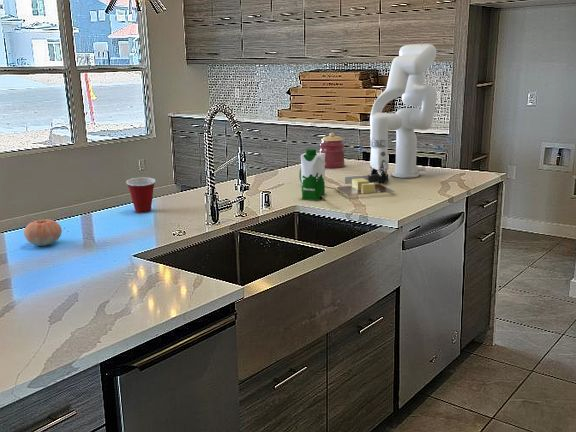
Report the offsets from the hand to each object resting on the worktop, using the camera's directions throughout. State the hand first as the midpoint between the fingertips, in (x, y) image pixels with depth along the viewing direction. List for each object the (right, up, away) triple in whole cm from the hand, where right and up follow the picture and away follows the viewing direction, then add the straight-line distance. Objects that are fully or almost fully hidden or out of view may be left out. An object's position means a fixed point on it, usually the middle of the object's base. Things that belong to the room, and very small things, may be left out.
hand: (378, 182), depth 261 cm
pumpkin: (-116, -24, -77) cm, 141 cm away
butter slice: (-8, -5, -22) cm, 24 cm away
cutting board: (-8, -5, -16) cm, 19 cm away
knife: (-6, -1, -1) cm, 6 cm away
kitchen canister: (-17, +11, +47) cm, 51 cm away
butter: (-10, -3, -14) cm, 17 cm away
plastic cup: (-95, -13, -39) cm, 103 cm away
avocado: (-31, -1, 0) cm, 31 cm away
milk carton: (-30, -8, -23) cm, 39 cm away
